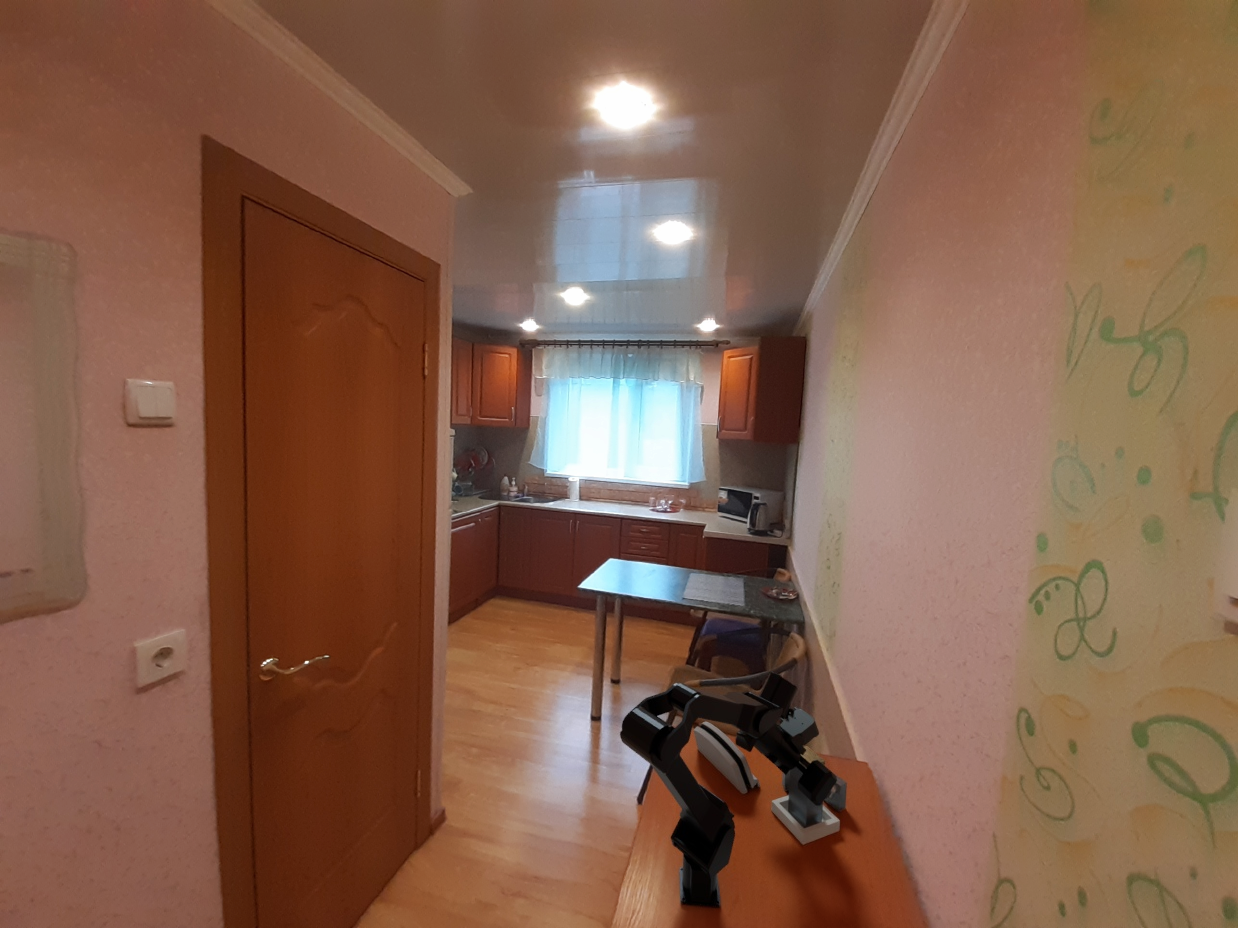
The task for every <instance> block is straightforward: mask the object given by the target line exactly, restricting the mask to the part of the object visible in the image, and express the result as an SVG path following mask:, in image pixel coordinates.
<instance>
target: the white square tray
mask: <svg viewBox="0 0 1238 928" xmlns="http://www.w3.org/2000/svg"><path fill="white" fill-rule="evenodd" d="M788 800H789V794H787V795H786V796H785V795H784V796H782V797H779V798H776V799H773V800H771V804H770V805H771V806H770V808H771V809H770V810H771V812H772V813H773V814H774V815H775V816H776V817H777V818H778V820H780V822H781V823H782V824H783V825H784V826H785V827H786V828H787V829H788V830H789V832H791V834H792V835H793V836H794V837H795V838H796V840H798V841H799V842H800V844H801V845H802V846H803V845H805V844H809V843H811V842H814V841H816V840H819V839H821V838H824V837H826V836H829V835H832V834H835V833H838V832H840V824H841V820H840V819H839V818H838V817H837V816H836V815H835V814H833V813H832V812H831V811H830V809H828V808H827V807H826V806H825V805H824V804H823V812H822V822H821V823H818V824H815V825H813V826H810V827H807V828H803V826H802V825H801V824H800V823H799V822H798V821H797V820H796V819H795V818H794V817H793V816H792V815H791V814H790V813H789V812H788Z"/></svg>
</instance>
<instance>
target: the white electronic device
mask: <svg viewBox="0 0 1238 928" xmlns="http://www.w3.org/2000/svg"><path fill="white" fill-rule="evenodd" d="M693 734H694V740H695V743H696V747H697V750H698V751H699V752H700V753H701V754H702V756H704V757H705V758H706V759H707V760H708V761H709V762H710V763H711V764H712V765H713V766H714V768H716V769H717V770H718V771H719V772H720V773H721V774H722V775H723V776H724V777H725V779H727V780H728V781H729V782H730V783H731V784H732V785H733V786H734V787H735V788H736V789H737V791H739V792H740V793H741V794H742V795H745V794H746V793H748V789H749V788H751V789H754V788H755V786H757V787H758V788H760V787H761V783H760V780H759V779H758V778H757V777H756V776H755V775H754V774H753V773H752V771H751V768H750V765H749V762H748V759H747V757H746V756H745V754H744V753H743V752H742V751H741V750H740V749H739V746H737V745H736V743H734V742H733V741H732V740H731V739H730V737H728V736H727V735H726V734H725V733H724V732H723V731H721V730H720V729H719V728H718V727H716V726H715V725H714V724H712V723H710V722H708V721H704V722H702V723H700V726H695V728H694V729H693Z"/></svg>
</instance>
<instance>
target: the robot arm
mask: <svg viewBox="0 0 1238 928" xmlns="http://www.w3.org/2000/svg"><path fill="white" fill-rule="evenodd" d="M798 690H799V688H798V686H796V685H795V684H793V683H792V682H791V681H789V680H788V679H786V678H784V677H783V676H782V675H781V674H779V673H776V672H775V671H771V672H770V673H769V675H768V676H767V678H766V680H765V683H764V684H763V686H762V688H761V691H760V692H759V694H758V695H757V694H754V693H753V692H751V691H749V690H746V691H742V692H740V691H727V692H726V693H725V694H720V693H716V692H711V691H709V690H705V689H704V690H703V689H700V688H696V687H693V686H689V685H688V684H685V683H683V682H675V683H674V684H672V685H671V686H670V687H669V688H668V689H667V690H665V691H663V692H660V693H657V694H654V695H651V696H648V697H645V698H643V700H641V702H639V703H638V704H637V705H636V706H635V707H633V709H631V710H630V711H629V712H628V713H627V714H626V715H625V716H624V718H623V720H622V724H621V731H620V732H619V737H620V739H621V742H622V743H623V744H624V745H625V746H627V747H628V748H629V750H630V749H631V751H633V752H634V753H635V754H637V755H639V757H641V758H642V759H643V760H644V761H646V762H647V763H648V764H650V765H651V767H652V768H653V770H654V772H655V773H656V774H657V776H658V778H659V779H660V780H661V781H662V783H663V784H664V785H665V787H666V789H667V790H668V791H669V792H670V794H671V796H672V797H673V798H674V800H675V801H676V803H677V804H678V806H679V807H680V808H681V811H680V812H679V820H678V821H677V823H676V825H675V828H674V829H673V831H672V834H671V835H670V840H671V841H670V842H671V844H672V846H673V847H674V848H677V850H678V851H680V852H681V853H682V866H680V867H679V869H678V870H679V871H678V873H679V896H680V897H679V899H680V903H681V904H682V905H688V906H699V907H709V908H721V905H722V903H721V894H720V886H719V878H718V874H719V873H720V872H721V871H722V870H724V868H725V867H726V866H728V865H729V864H730V859H731V856H732V850H733V846H734V843H735V838H736V831H735V829H736V826H735V825H736V824H735V820H734V817H735V814H734V813H733V812H732V811H730V807H729V805H728V804H727V802H725V801H724V800H722V799H721V798H720V797H719V796H717V795H716V794H714V792H712V791H711V790H709V789H708V788H707V787H704V786H703V785H702V784H700V783H699V782H698V780H697V779H696V777H695V775H693V773H692V771H691V770H690V768H689V767H688V765H687V763H686V762H685V760H684V758H682V756H681V753H682V750H683V748H684V747H685V746H686V745H687V744H688V743H689V741H690V738H691V734H692V730H693V725H694V723H695V722H696V721H697V720H698V719H701V720H707V721H712V722H717V723H722V724H726V725H731V726H733V727H734V728H736V729H737V730H739V731H737V732H736V737H735V745H736V746H737V747H738V748H741V749H743V750H745V751H747V752H749V753H751V752H752V750H753V748H755V749H756V750H757V751H758V752H759V753H760V754H761V755H763V756H764V757H765V758H766V759H767V760H768V761H770V762H771V763H772V764H773V765H774V766H775V767H776V768H777V769H779V771H781V772H782V774H783V773H784V774H785V775H786V774H787V773H788V771H789V770H792V769H794V768H795V767H796V768H797V769H799V770H800V771H801V772H802V773H803V775H802V776H801V778H800V779H799V781H798V789H799V790H800V791H801V792H802V793H803V794H804V795H805V796H806V797H807V798H808V799H809V800H810V801H812V802H813V803H814V804H815V805H816V806H819V805H821V804H822V802H823V803H824V802H825V801H824V799H825V798H828V797H829V796H830V795H831V789H832V788H833V786H834V785H835V783H836V782H837V777H836V775H837V774H835V772H833V771H831V770H830V769H829V767H827V766H826V765H825V766H824V765H823V764H822V763H821V762H820V761H818V760H815V761H812V762H811V763H809V762H808V761H807V760H806V759H805V758H804V757H802V756H801V755H803V754H804V753H805V752H806V749H805V748H804V746H807V744H808V743H809V742H811V741H812V740H813V739H815V738H818V736H819V735H820V731H819V728H818V725H817V723H816V720H815V718H814V717H813V716H811V714H809V713H808V712H806V711H805V710H804V709H801V708H797V707H796V706H794V707H793V708H791V706H792V703H793V702H794V699H795V697H796V695H797V693H798ZM673 710H676V711H678V712H679V713H681V714H682V718H681V721H680V723H678V725H676V726H675V727H674V726H673V725H672V724H670V723H668V722H666V721H665V720H664V719H662V718H661V717H660V716H662V715H666V713H670V712H672V711H673ZM777 722H779V724H778V723H777ZM799 761H800V762H801V763H802V764H803V765H805V767H807V769H806V768H805V767H804V766H802V765H801V764H800V763H799Z"/></svg>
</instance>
